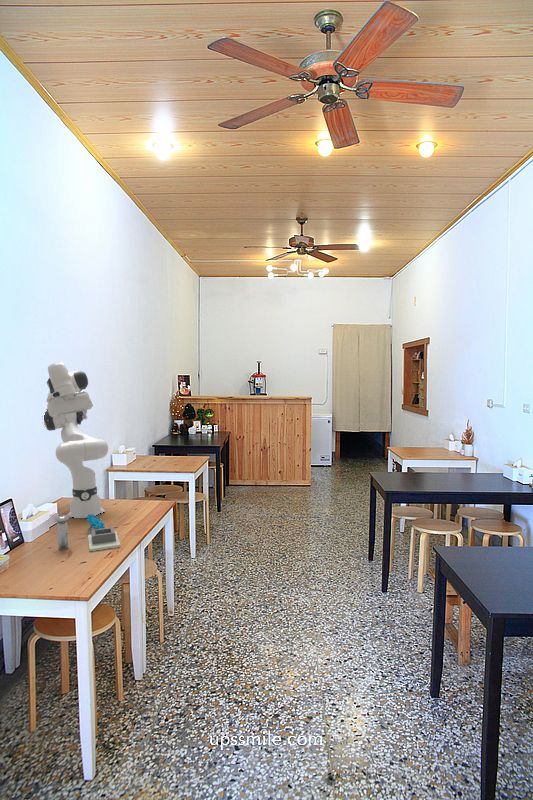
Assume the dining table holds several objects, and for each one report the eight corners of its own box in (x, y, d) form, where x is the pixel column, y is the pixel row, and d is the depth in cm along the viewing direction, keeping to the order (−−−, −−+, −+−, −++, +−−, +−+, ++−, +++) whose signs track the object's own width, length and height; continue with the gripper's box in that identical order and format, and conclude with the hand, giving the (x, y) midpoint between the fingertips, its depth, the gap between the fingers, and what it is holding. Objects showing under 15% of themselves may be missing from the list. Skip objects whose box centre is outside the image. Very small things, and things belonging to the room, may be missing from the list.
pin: (56, 547, 211) (54, 516, 210) (70, 545, 213) (69, 514, 212) (56, 551, 206) (54, 519, 205) (70, 549, 208) (68, 517, 207)
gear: (99, 530, 226) (84, 514, 228) (90, 539, 227) (76, 523, 228) (110, 526, 237) (96, 511, 239) (101, 535, 238) (88, 520, 239)
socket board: (88, 537, 222) (87, 527, 222) (116, 533, 226) (115, 523, 226) (89, 552, 204) (88, 540, 203) (120, 547, 208) (119, 536, 208)
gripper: (84, 393, 246) (94, 419, 244) (42, 400, 232) (52, 427, 229) (89, 388, 242) (98, 414, 239) (46, 395, 227) (56, 423, 225)
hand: (75, 421), depth 234 cm, fingers open, 8 cm apart
